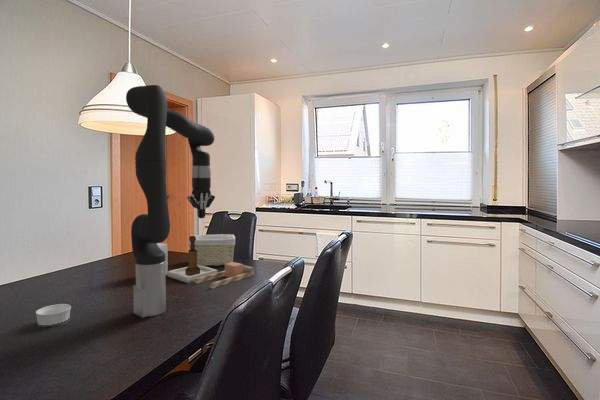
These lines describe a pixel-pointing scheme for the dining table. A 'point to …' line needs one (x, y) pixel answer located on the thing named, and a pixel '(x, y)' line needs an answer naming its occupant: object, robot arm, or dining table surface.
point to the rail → (247, 271)
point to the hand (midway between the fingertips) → (201, 218)
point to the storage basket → (214, 249)
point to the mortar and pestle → (192, 259)
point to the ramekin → (53, 314)
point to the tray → (181, 275)
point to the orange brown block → (233, 269)
